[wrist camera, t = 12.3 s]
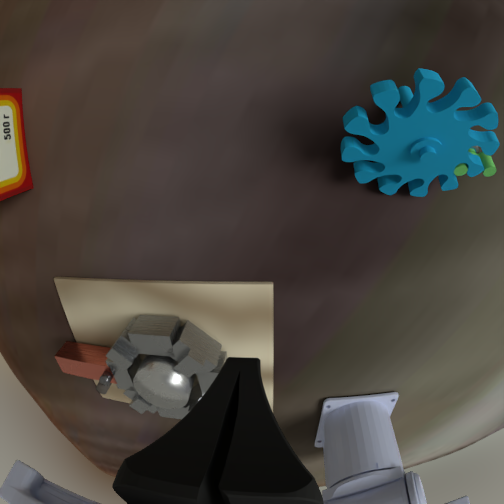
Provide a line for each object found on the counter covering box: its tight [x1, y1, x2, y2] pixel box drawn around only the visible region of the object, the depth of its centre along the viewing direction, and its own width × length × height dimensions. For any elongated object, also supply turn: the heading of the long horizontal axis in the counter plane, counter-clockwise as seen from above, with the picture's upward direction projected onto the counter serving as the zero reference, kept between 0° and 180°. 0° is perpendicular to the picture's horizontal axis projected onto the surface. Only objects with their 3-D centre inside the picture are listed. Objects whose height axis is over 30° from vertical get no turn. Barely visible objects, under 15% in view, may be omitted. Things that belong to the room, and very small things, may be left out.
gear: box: [341, 68, 500, 197], centre depth 15 cm, size 11×6×10 cm
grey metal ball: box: [133, 354, 196, 409], centre depth 24 cm, size 5×5×4 cm
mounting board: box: [54, 277, 273, 412], centre depth 24 cm, size 16×20×3 cm
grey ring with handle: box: [55, 315, 227, 419], centre depth 24 cm, size 17×10×4 cm, turn 93°
